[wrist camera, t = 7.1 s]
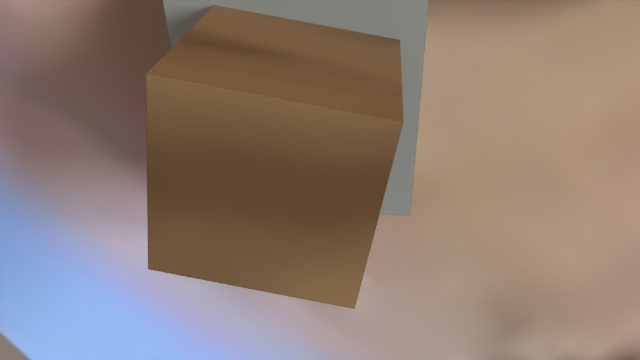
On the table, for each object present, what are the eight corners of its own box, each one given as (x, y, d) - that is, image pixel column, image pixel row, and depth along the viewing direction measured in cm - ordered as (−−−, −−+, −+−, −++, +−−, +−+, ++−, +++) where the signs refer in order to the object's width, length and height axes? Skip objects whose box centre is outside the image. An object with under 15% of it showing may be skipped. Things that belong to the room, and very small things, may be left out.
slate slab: (407, 160, 21) (409, 215, 18) (221, 153, 22) (195, 204, 19) (422, -39, 17) (429, -12, 14) (198, -41, 18) (160, -15, 15)
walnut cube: (363, 194, 18) (354, 308, 13) (206, 164, 18) (148, 269, 13) (400, 39, 15) (403, 122, 11) (214, 4, 15) (146, 73, 11)
